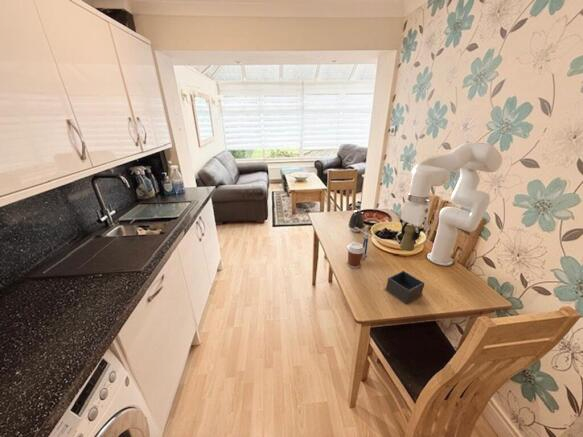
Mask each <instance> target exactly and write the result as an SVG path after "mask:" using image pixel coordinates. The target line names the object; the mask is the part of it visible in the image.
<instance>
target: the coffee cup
mask: <svg viewBox="0 0 583 437" xmlns="http://www.w3.org/2000/svg"><path fill="white" fill-rule="evenodd" d="M346 250H347V266H349V267H350V268H353V269H356V268H357V269H358V268H359V267H360V266H361V261H362V259H363V255H364V253H365V247H363V244H361V243H360V242H351V243H350V244H349V245H347V247H346ZM363 252H364V253H363ZM362 254H363V255H362Z"/></svg>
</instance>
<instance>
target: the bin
mask: <svg viewBox="0 0 583 437" xmlns="http://www.w3.org/2000/svg"><path fill="white" fill-rule="evenodd" d="M424 287H425V282H424V281H421V279H419V278H416V277H415V276H414V275H412V274H410V273H409V272H407V271H405V270H402V271H400V272H398V273H395V274H394V275H392V276H390V277H388V278H387V282H386V287H385V290H386V291H387V292H389V293H390V294H392V295H393V296H394V297H396V298H397V299H399V300H400V301H401V302H403V303H404V304H406V305H407V304H408V303H411V302H412V301H414V300H416V299H418V298H419V297H420V296H422V294H423V290H424Z"/></svg>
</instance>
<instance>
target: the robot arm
mask: <svg viewBox="0 0 583 437" xmlns="http://www.w3.org/2000/svg"><path fill="white" fill-rule="evenodd" d="M502 164H503V155H502V154H501V152H500V151H499V150H498V148H496V146H495V145H492V144H491V143H490V144H489V143H480V142H464V143H462V144H460V145H459V146H457V147H455V148H454V149H452V150H450V151H449V152H448V153H445V154H440V155H436V156H432V157H431V156H430V157H429V158H426V159H423V160H422V161H420V162H419V163H418V164H416V165H415V166H414V167H413V169H412V171H411V181H410V182H411V183H410V186H409V191H408V196H407V199H406V200H405V202H404V204H403V206H402V210H401V213H400V214H398V215H397V219H398V220H399V222H400V226H401V231H400V235H401V236H404V234H405V230H404V229H405V227H406V226H407V225H413V226H415V229H416V232H414V235H413V240H415V241H417V240H418V239H420V236H421V232H423V231H426V230H429V229H430V228H431V227H430V226H429V214H430V203H431V202H432V200H431V199H430V194H431V188H432V187H441V186H445V185H446V184H447V183H448V182H449V180H450V177H451V174H450V172H451V173H452V172H457V171H459V173H460V175H459V179H458V181H457V183H456V185H455V188H454V190H453V192H452V193H451V197H450V202H451V204H452V205H455V206H459V207H462V208H465V209H470V210H471V211H469V210H464V209H461V208H459V207H455V206H444V207H443V208H442V209H441V210H440V211H439V215H438V227H437V230H436V234H435V238H434V241H433V245H432V247H431V248H432V249H431V252H428V253H427V256H426V257H427V259H428V261H430V262H432V263H433V264H435V265H438V266H443V267H444V266H446V267H448V266H452V265H453V262H454V260H453V259H452V255H453V254H454V253H455V252H454V249H455V245H456V242H457V239H458V236H459V233H458V232H459V231H458V229H460V230H462V231H465V232H475V231H476V229H478V227H479V225H480V223H481V221H482V219H483V218H484V216H485V214H486V211H487V209H488V207H489V205H490V202H491V196H490V194H489V193H488V192H485V191H482V190H477V189H478V186H479V184H480V181H481V179H480V175H479V173H478V171H479V172H484V173H495V172H497V171H498V170H499V169H500V168H501V166H502Z"/></svg>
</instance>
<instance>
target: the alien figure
mask: <svg viewBox="0 0 583 437" xmlns="http://www.w3.org/2000/svg"><path fill="white" fill-rule="evenodd" d="M356 228H357V227H355V229H356ZM363 228H364V230H363V229H362V230H360V229H359V228H358V230H360V231H359V232H361V233H363V243H362V246H363V247H364V249H365V250H364V252H363V254H362V259H364V258H365V257H367V253H368V242H369V237H371V238H373V239H375V240H377V241H379V242H380V239H379V238H378V237H376V236H374V235H372V234H370V233H368V232H369V229H370V226H369V225H365V226H364V227H363Z"/></svg>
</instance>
